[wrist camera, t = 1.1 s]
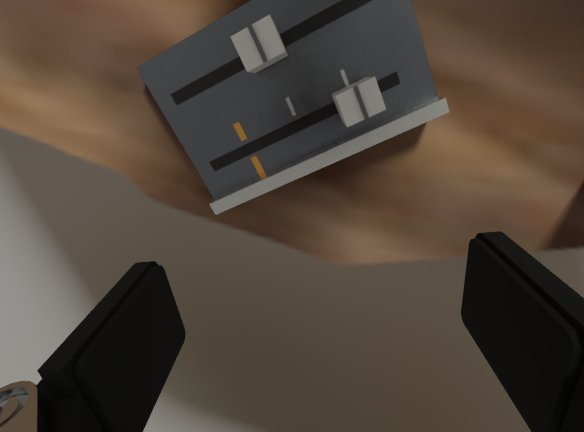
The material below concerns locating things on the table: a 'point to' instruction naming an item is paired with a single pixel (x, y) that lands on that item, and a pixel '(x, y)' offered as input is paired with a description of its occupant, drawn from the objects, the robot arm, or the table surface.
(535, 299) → the robot arm
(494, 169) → the table surface
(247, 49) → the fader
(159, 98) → the console
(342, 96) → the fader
